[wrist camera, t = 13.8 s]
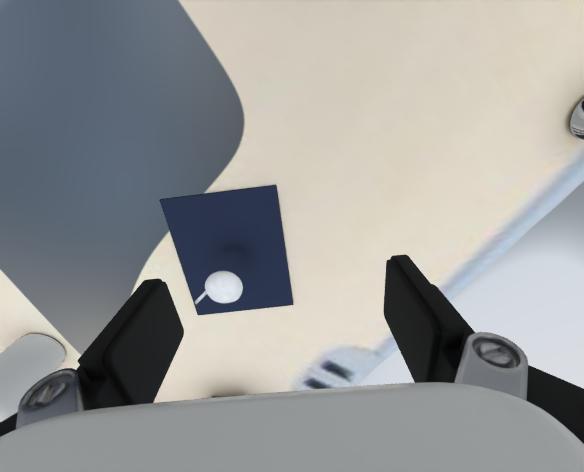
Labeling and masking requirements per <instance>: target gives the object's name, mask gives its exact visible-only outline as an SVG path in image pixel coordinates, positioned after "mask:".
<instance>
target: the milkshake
mask: <svg viewBox="0 0 584 472" xmlns="http://www.w3.org/2000/svg"><path fill="white" fill-rule="evenodd" d="M245 262H246V254H245V253H244V251H243V250H242V249H240V248H237V247H232V248H228V250H227V251H226V252H225V253H224V255H223V256H222V258H221V259H220V261H219V263H218V264H217V266H216V267H215V269H214V270H213V271H212V273H211V274H210V275H209V277H208V278H207V280H206V282H205V290H206V291H205V292H204V293H203V294H202V295H201V296H200V297H199V298H198V299H197V300H196V301H195V304H197V303H198V302H199V301H200V300H201V299H202V298H203V297H204V296H205V295H206V294H208V296H209V297H210V298H211V299H212V300H214V301H216V302H219V303H231V302H234V301H236V300H238V299H239V297H240V296H241V294H242V291H243V279H244V270H245Z"/></svg>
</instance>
